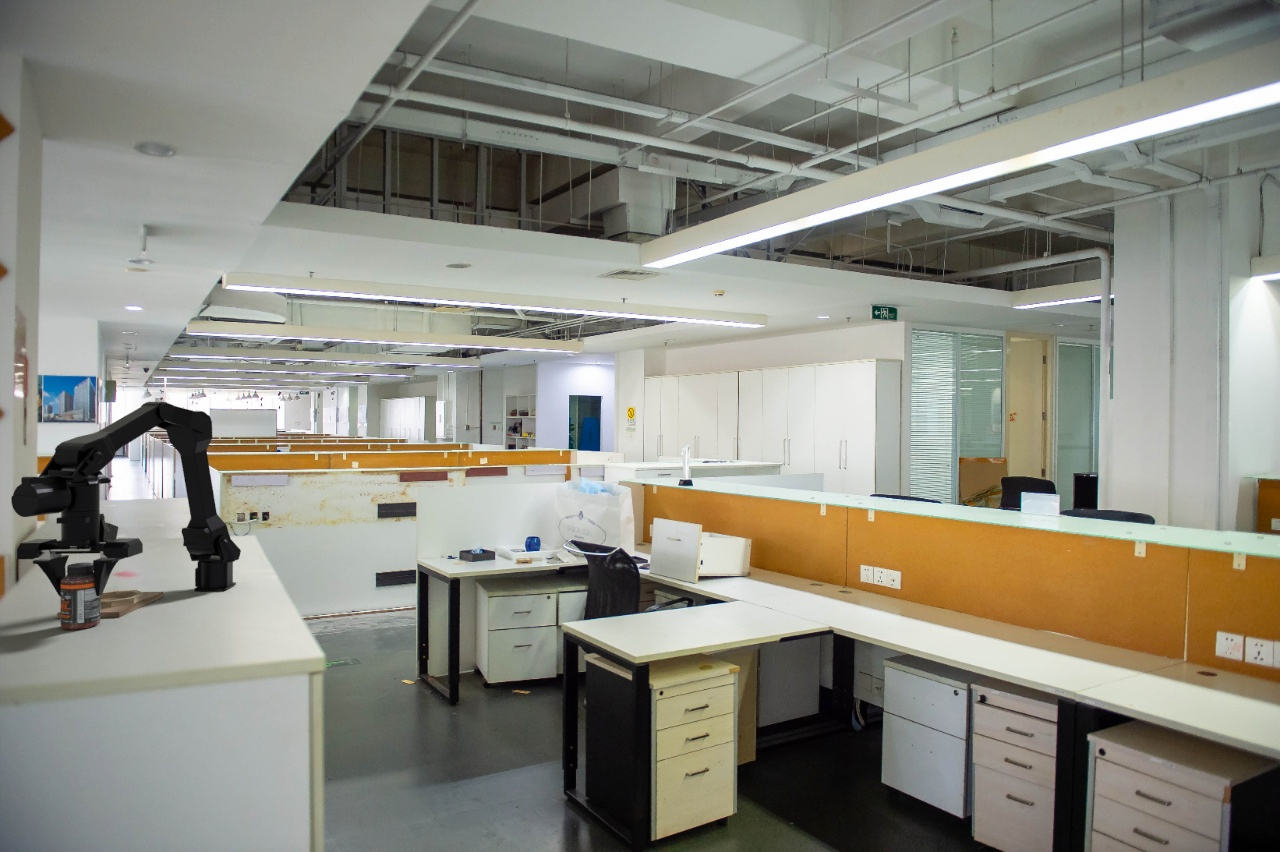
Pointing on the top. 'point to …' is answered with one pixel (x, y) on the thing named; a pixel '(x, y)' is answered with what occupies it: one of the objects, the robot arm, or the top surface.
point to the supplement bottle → (79, 598)
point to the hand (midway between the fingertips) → (80, 595)
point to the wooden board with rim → (124, 602)
